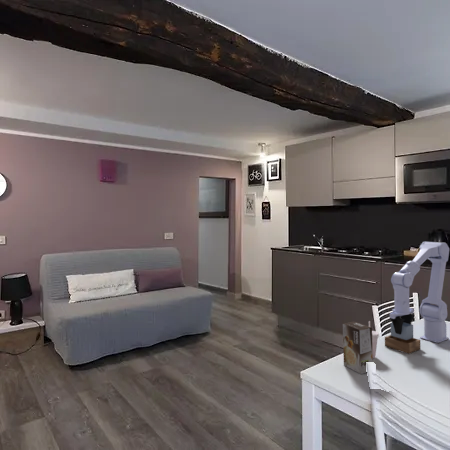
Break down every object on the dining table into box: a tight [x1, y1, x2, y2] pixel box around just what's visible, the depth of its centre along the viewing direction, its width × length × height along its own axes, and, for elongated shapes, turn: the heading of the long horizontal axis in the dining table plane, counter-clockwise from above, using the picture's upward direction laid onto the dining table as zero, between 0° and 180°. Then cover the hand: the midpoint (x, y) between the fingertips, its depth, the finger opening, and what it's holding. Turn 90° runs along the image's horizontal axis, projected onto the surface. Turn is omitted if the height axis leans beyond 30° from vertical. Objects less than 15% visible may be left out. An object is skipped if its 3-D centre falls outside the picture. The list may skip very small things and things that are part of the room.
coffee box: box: [342, 321, 374, 375], centre depth 131 cm, size 9×6×16 cm
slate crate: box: [390, 322, 414, 340], centre depth 149 cm, size 5×7×6 cm
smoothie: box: [368, 320, 380, 359], centre depth 141 cm, size 6×6×14 cm
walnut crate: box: [384, 334, 421, 355], centre depth 149 cm, size 9×11×4 cm
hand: (402, 332), depth 149 cm, fingers closed on slate crate, 5 cm apart
